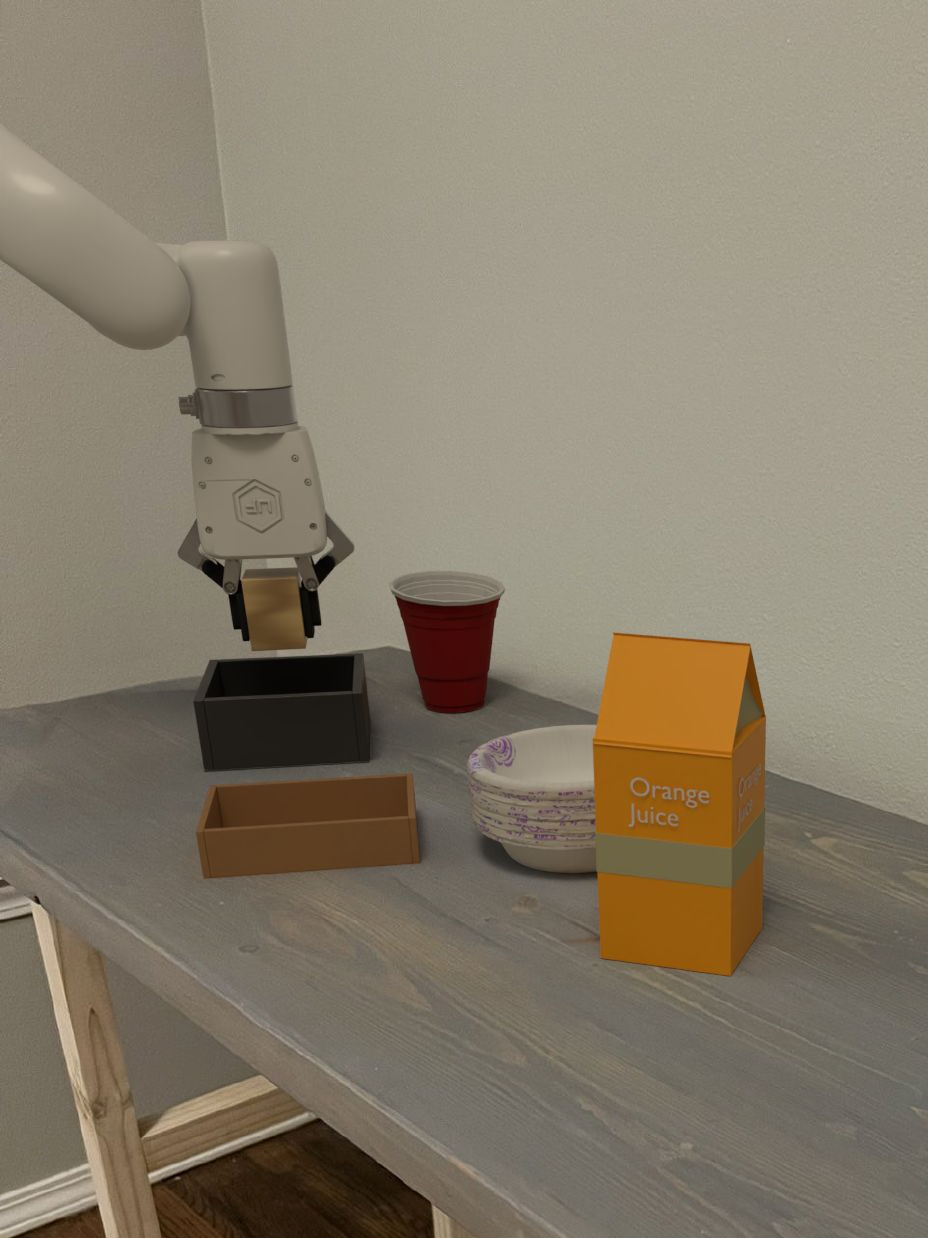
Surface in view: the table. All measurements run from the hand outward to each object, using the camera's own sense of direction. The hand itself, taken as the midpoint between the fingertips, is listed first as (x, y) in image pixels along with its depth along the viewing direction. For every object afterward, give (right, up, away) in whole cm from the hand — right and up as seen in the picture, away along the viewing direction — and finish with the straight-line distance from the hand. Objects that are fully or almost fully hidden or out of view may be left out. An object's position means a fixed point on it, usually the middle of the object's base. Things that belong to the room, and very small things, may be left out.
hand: (279, 633), depth 128 cm
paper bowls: (+28, -21, -17) cm, 39 cm away
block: (0, -1, 0) cm, 1 cm away
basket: (0, -9, +5) cm, 10 cm away
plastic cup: (+12, -3, +17) cm, 21 cm away
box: (+8, -20, -18) cm, 28 cm away
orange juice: (+36, -28, -31) cm, 55 cm away
